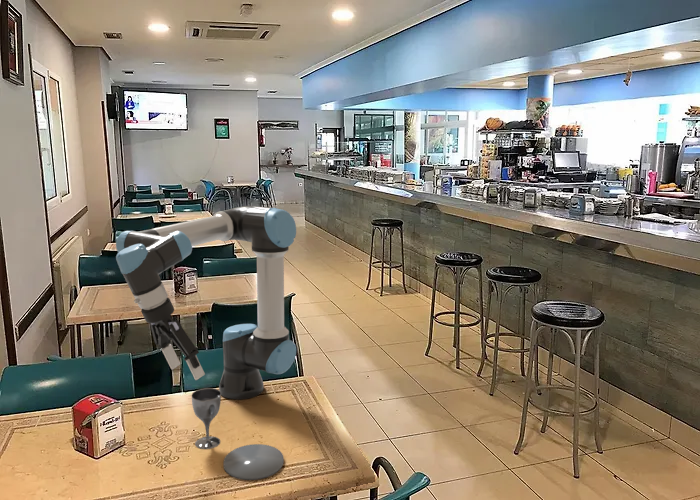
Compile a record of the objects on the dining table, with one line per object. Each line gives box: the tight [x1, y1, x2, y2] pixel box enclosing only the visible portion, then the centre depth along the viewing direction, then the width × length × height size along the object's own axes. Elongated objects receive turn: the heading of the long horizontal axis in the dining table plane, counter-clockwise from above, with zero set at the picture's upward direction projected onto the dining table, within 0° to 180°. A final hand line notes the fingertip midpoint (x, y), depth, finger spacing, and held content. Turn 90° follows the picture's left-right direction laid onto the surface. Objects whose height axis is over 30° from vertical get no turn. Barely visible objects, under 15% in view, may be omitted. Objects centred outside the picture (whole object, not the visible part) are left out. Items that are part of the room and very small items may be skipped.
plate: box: [223, 443, 285, 481], centre depth 156 cm, size 16×16×1 cm
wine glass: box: [191, 387, 222, 450], centre depth 165 cm, size 8×8×15 cm
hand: (187, 371), depth 154 cm, fingers open, 13 cm apart
